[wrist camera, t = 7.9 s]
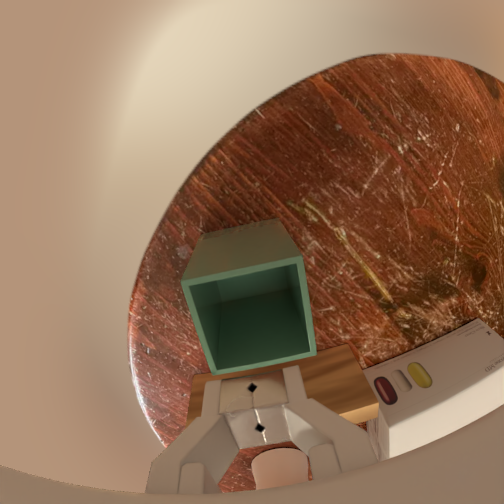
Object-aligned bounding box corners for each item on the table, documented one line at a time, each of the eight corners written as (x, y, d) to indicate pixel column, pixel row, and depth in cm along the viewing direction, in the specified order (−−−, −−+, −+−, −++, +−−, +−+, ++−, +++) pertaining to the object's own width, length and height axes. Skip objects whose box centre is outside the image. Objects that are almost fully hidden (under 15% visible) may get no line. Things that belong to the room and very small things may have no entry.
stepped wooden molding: (193, 374, 30) (183, 440, 22) (347, 343, 30) (379, 402, 21) (209, 412, 32) (205, 476, 24) (349, 384, 32) (375, 443, 23)
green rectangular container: (212, 258, 30) (173, 181, 20) (280, 244, 30) (273, 158, 20) (232, 382, 25) (190, 367, 14) (310, 366, 25) (325, 341, 14)
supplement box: (478, 314, 30) (524, 353, 21) (469, 386, 34) (501, 425, 25) (357, 369, 31) (388, 430, 22) (366, 434, 35) (387, 486, 26)
